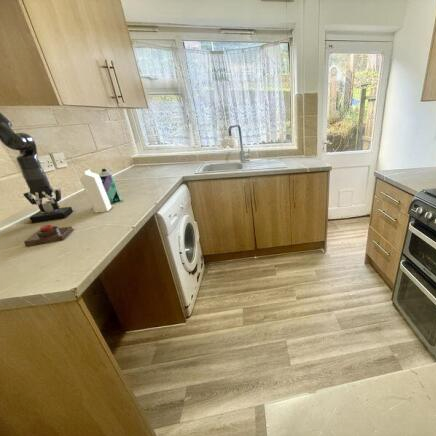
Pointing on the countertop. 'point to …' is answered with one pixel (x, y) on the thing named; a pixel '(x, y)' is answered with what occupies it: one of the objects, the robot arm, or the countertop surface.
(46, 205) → the hob knob
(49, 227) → the button
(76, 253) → the countertop surface
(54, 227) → the igniter
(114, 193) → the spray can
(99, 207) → the milk
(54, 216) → the panel
